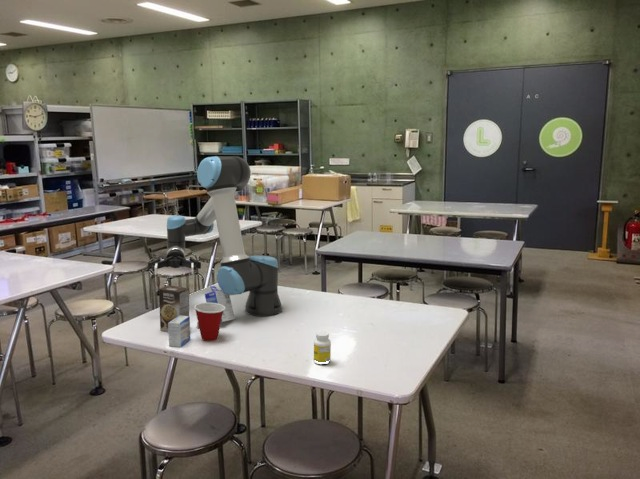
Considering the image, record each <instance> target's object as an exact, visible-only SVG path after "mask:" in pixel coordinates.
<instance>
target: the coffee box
mask: <svg viewBox="0 0 640 479" xmlns="http://www.w3.org/2000/svg"><path fill="white" fill-rule="evenodd" d="M158 296H159V297H158V298H159V323H160V325H159V326H160V332H165V333H168V323H169V322H170V321H172V320H173V319H175V318H176V317H178V316H189V317H190V288H189V287H183V286H176V285H170V284H169V285H166V286H163V287H160V288H159V289H158Z"/></svg>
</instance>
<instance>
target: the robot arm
mask: <svg viewBox="0 0 640 479" xmlns="http://www.w3.org/2000/svg"><path fill="white" fill-rule="evenodd" d="M251 172H252V171H251V167H250V165H249V163H248V162H247V161H246V160H245V159H244V158H242V157H240V156H236V155H233V156H224V155H223V156H221V155H220V156H217V155H215V156H208V157H205V158H203V159H202V160H201V161H200V163H199V165H198V167H197V172H196V175H197V181H198V183H199V184H200V186H201V187H203V188H204V189H206V194H207V195H209V196H210V198H209V199H208V201H206V203H205V204H204V206H203V207H202V209H200V211H199V212H198V214H197V215H196V216H195V217H194V218H190V219H189V218H188V219H186V218H185V216H182V215H170V216H168V217H167V221H166V231H167V232H166V236H167V241H166V245H167V246H166V248H167V250H166V257H165V258H164V259H162V257H157V258H156V259H154V260H151V261H149V262H147V270H151V271H152V272H154V275H155V276H156V275H158V270H159V269H162V268H169V267H170V268H173V269H179V268H181V267H182V268H184V267H186V268H189V269H191V272H190V273H191V275H194V274H195V273H194V271H197V269H198V270H201V269H202V262H201V261H199V260H197V259H195V258H193V256H192V257H191V256H190V257H188V259H187V258H186V237H194V236H198V235H199V236H200V235H206V234H210V233H211V232H213V230H214V226H215V224H214V222H215V221H216V222H215V223H216V226H217V232H218V238H219V242H220V247H221V253H222V259H221V261H219V264H220V268H219V269H218V270H217V272H216V281H217V285H218V287H219V288H220V290H223V291H224V292H225V293H226V294H228V295H230V296H237V295H243V293H247V292H249V293H248V295H247V299H246V302H245V305H244V307H245V308H244V311H245V313H246V314H248V315H251V316H255V317H269V316H268V315H271V316H274V315H273V314H275V315H277V314H276V313H278V312H280V311H281V310H282V308H283V307H282V301H281V299H280V296H279V293H278V290H279V289H278V288H279V287H278V285H279V284H278V283H279V277H278V276H279V265H278V260H277V258H276V257H272V256H268V255H260V254H259V255H250V256H249V255H247V254H246V252H245V246H244V240H243V236H242V231H241V225H240V219H239V214H238V209H237V203H236V200H235V196H236V195H237V194H238V193H240V192H242V191H244V189H245V188H246V187H247V185H248V183H249V182H250V179H251V174H252V173H251ZM281 312H282V311H281ZM281 312H280V313H281ZM278 314H279V313H278Z"/></svg>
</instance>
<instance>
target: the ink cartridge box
mask: <svg viewBox="0 0 640 479" xmlns="http://www.w3.org/2000/svg"><path fill="white" fill-rule="evenodd" d="M209 288H210V289H211V291H209V292H207V293H204V297H205V298H204V299H205V301H206V302H205V303H217V304H221V305H223V306H225V310H224V311H223V315H222V319H221V323H224V322H225V323H226V322H230V321H233V320H235V319H236V318H235V317H236V316H235V312H234V308H233V304H232V299H231V295H228V294H226V293H225V292H224V291H223V290H221V289H220V290H218V288H217V287H216V286H215V285H213V286H209Z"/></svg>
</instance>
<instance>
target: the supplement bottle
mask: <svg viewBox="0 0 640 479" xmlns="http://www.w3.org/2000/svg"><path fill="white" fill-rule="evenodd" d="M329 336H330V334H329V332H327V331H323V330H321V331H317V332H316V334H315V340H314V341H313V361H314V360H316V361H318V362H326V361H329V360H330V361H331V355H332V354H331V353H332V352H331V350H332V349H331V347H332V346H331V345H332V344H331V343H332V342H331V340H330V339H329Z"/></svg>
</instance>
